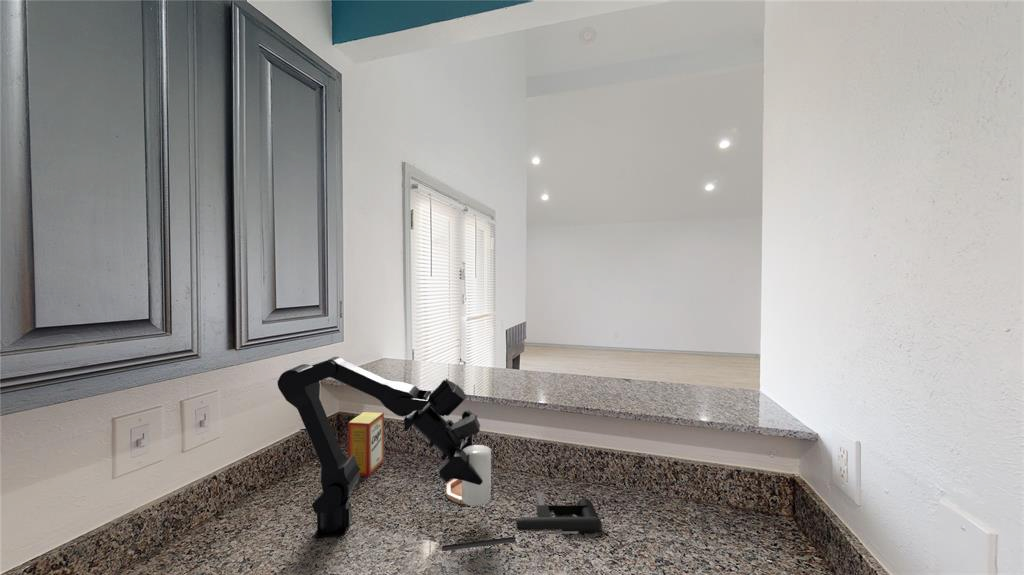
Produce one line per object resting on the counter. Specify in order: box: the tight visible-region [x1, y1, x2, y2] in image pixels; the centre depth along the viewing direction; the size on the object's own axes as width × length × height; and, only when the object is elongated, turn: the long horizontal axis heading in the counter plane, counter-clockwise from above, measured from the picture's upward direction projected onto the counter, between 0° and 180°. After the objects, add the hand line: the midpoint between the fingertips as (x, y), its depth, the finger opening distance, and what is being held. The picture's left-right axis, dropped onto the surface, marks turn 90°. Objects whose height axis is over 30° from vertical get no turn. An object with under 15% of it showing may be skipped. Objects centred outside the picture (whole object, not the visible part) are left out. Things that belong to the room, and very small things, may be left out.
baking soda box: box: [347, 411, 385, 477], centre depth 115 cm, size 10×6×16 cm
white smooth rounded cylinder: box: [462, 444, 492, 507], centre depth 88 cm, size 7×7×11 cm
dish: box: [445, 478, 466, 505], centre depth 101 cm, size 12×12×2 cm
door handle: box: [515, 491, 603, 535], centre depth 92 cm, size 3×20×16 cm
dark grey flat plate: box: [441, 536, 516, 552], centre depth 87 cm, size 16×12×1 cm
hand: (482, 474), depth 88 cm, fingers closed on white smooth rounded cylinder, 7 cm apart
